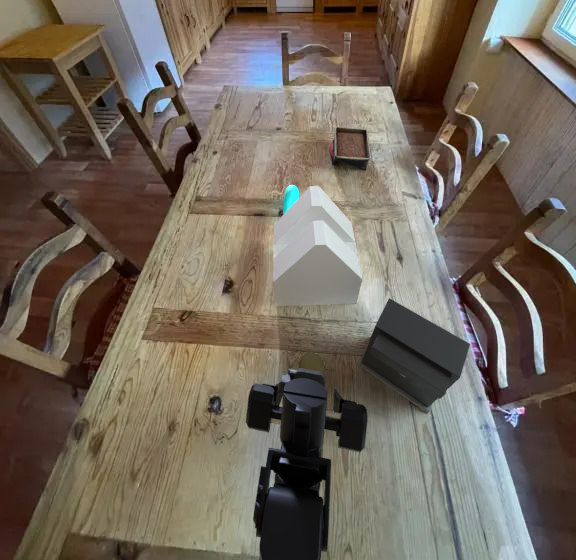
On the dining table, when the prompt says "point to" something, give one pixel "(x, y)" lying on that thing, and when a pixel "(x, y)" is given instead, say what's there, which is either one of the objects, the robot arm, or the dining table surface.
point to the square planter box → (350, 147)
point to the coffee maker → (413, 355)
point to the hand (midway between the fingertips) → (309, 386)
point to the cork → (312, 362)
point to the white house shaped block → (315, 254)
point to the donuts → (290, 197)
